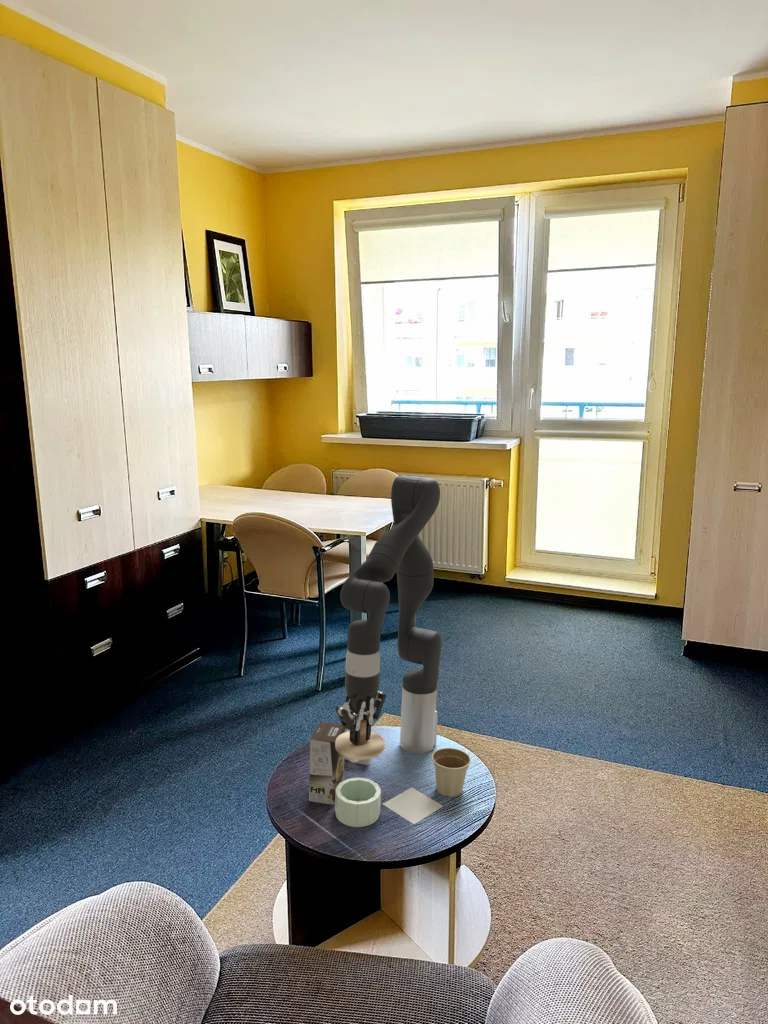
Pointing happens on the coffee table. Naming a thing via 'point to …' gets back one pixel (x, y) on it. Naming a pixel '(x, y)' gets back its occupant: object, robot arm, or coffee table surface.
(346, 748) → the lid
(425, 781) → the coffee table surface
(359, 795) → the bowl
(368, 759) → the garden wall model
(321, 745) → the coffee box
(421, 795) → the mat
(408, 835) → the coffee table surface
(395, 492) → the robot arm
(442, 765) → the flower pot
